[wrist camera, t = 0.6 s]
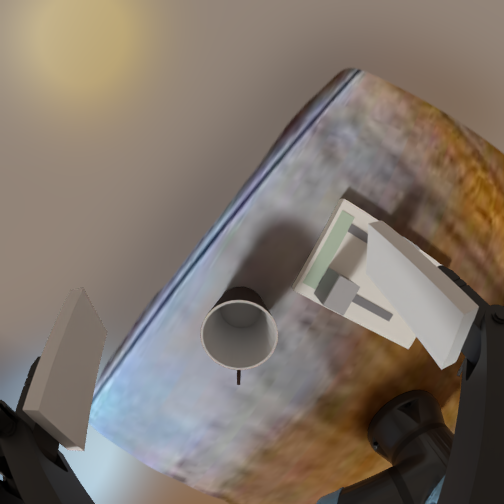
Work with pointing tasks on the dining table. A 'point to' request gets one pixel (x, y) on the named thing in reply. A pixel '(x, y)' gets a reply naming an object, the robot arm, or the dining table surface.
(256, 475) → the dining table surface
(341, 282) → the block
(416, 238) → the dining table surface
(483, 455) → the robot arm
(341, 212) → the panel
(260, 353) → the coffee mug
